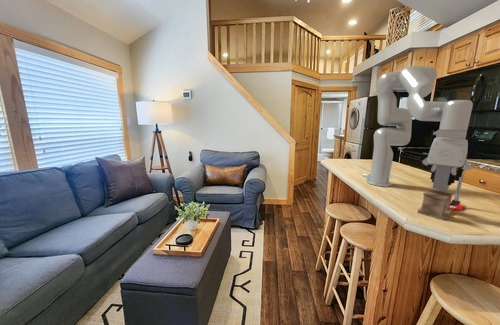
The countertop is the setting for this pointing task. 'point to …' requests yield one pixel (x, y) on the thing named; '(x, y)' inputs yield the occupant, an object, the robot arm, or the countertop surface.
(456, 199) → the tow hook
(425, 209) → the ribbed brown block
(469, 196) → the countertop surface
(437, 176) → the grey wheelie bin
